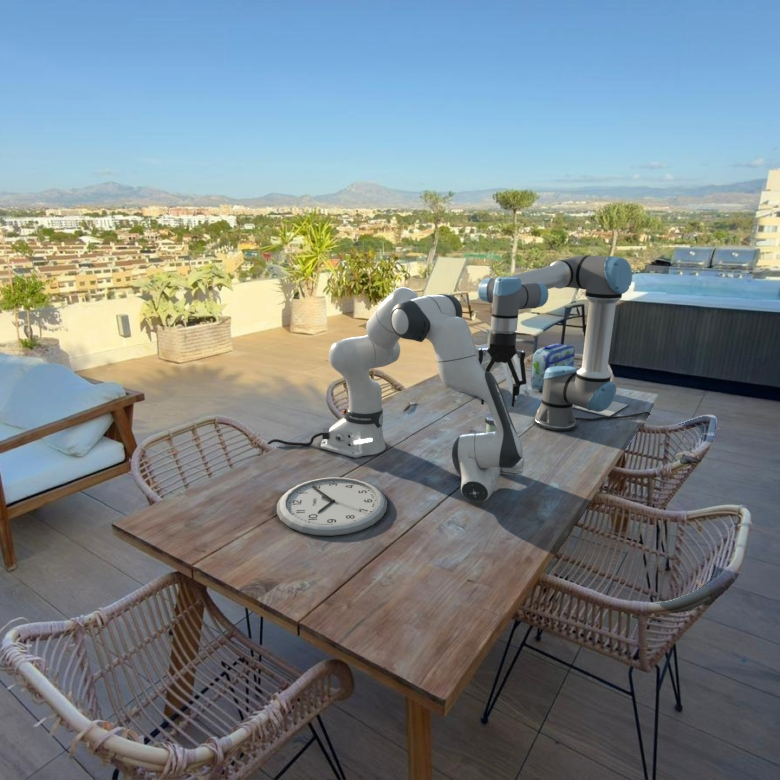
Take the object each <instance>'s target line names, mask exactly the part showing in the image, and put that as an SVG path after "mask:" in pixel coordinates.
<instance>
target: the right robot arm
mask: <svg viewBox="0 0 780 780" xmlns="http://www.w3.org/2000/svg"><path fill="white" fill-rule="evenodd" d="M632 281H633V271H632V267H631V264H630V263H629V261H628V260H627V259H626V258H624V257H618V256H614V255H590V254H580V255H575V256H571V257H567V258H563V259H559V260H556V261H553V262H552V263H551V264H550V265H548V266H543V267H540V268H536V269H532V270H529V271H524V272H520V273H516V274H512V275H508V276H499V277H496V278H494V277H487V278H483V279H482V280H481V282H480V283H479V285H478V288H477V295H478V297H479V300H481V301H483V302H486V303H488V304H492V307H491V308H492V309H491V319H490V320H491V321H490V330H491V331H490V333H489V347H488V348H487V349H482V348H480V349H479V358H478V360H479V362H480V364H482V360H483V356H485V355H486V353H487V352H488V353H489V355H490V356H491V359H490V361H489V363H488V365H487V366H486V368H485V371H487V372H489V371H490V369H491V367H492V366H493V364H494V363H495V362H497V363H499V362H502V363H507V365H508V368H509V371H510V374H511V377H512V379H513V382H514V383H513V390H512V394H511V403H510V404H511V405H510V406H511V408H515V402H516V401H515V400H516V399H515V396H517V397H518V396H519V395H520V390H521V387H522V386H521V385H523V384H527V374H526V373H527V372H526V364H525V358H526V351H525V350H518V349H517V348H516V345H517V344H516V342H517V332H516V331H518V324H519V323H518V321H519V312H520V310H528V309H530V310H531V309H538V308H541V307H543V306H544V305H546V303H547V302H548V300H549V294H550V293H549V290H550V289H554V288H555V289H558V290H559V289H564V288H571V289H579V290H580V289H581V290H585V298H586V299H587V300H588V309H587V318H586V327H585V335H584V344H583V353H582V361H581V367H580V368H579V369H578V368H577V367H576V366H573V367H571V366H555V367H549V368H547V369H546V371H545V375H544V378H543V379H544V381H543V390H541V391H542V394H541V402H540V405H539V407H538V408H537V411H536V413H535V416H534V424H535V425H536V426H537V427H539V428H542V429H544V430H549V431H556V432H567V431H572V430H574V429H575V428H576V420H577V421H578V420H579V421H598V420H602V419H603V420H605V419H625V418H631V417H638V416H641V415H645V414H648V416H651V415H652V414H651V413H650V412H649V411H643V412H639V413H633V414H627V415H617V416H616V415H611V416H599V417H591V418H589V417H588V418H587V417H576V416H575V413H574V407H573V406H575V407H576V406H579V407H582V408H585V409H588V410H592V411H596V412H601V411H604V410H605V409H607V408H608V407H609V405H610V404H611V403H612V401H614V400H615V398H616V397H615V396H616V394H617V386H616V385H617V384H615V383H614V382H613V381H611V379H612V378H611V377H612V374H611V372H610V371H609V370H608V367H609V359H610V353H611V352H610V351H611V343H612V336H613V330H614V323H615V322H614V321H615V315H616V308H617V302H619V301H620V300H621V299H622V298H623V294H626V293H627V292H628V291H629V290H630V286H631V285H632ZM515 354H517V355H518V359H519V362H520V367H521V376H522V380H520V379H519V376H518V373H517V370H516V367H515V364H514V362H513V361H512V360H513V359H512V358H513V356H514V355H515ZM502 363H501V364H502ZM480 399H481V400H480V402H481V403H480V405H484V404H485V401H484V400H483V399H482V398H480Z"/></svg>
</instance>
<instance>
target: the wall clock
mask: <svg viewBox="0 0 780 780" xmlns="http://www.w3.org/2000/svg"><path fill="white" fill-rule="evenodd" d="M387 509H388V500H387V498H386V496H385V494H384V493H383V492H382V491H381V490H380V489H379V488H377V487H376V486H374V485H372V484H371V483H369V482H365V481H362V480H359V479H355V478H349V477H338V476H337V477H335V476H333V477H332V476H331V477H322V478H317V479H312V480H307V481H305V482H302V483H299V484H297V485H295V486H293V487H292V488H290V489H288V490H287V491H286V492H285V493H284V494H283V495H281V496H280V498H279V499H278V502H277V503H276V515H277V517H278V518H279V520H280V521H281V522H282V523H283V524H285V525H286V526H287V527H288V528H290V529H293V530H295V531H297V532H299V533H303V534H308V535H312V536H327V537H328V536H329V537H331V536H332V537H333V536H342V535H350V534H352V533H356V532H361V531H363V530H366V529H368V528H369V527H372V526H373V525H375V524H376V523H378V522H379V521H380V520H381V519H382V518H383V517H384V516H385V514H386V512H387Z"/></svg>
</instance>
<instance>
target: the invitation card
mask: <svg viewBox="0 0 780 780" xmlns="http://www.w3.org/2000/svg"><path fill="white" fill-rule="evenodd" d="M628 406H629V404H627V403H623V402H618V401H614V400H613V401H612V403H611V404H610V405H609V407H608V408H607V409H605V410H604V411H601V412H596V411H592V410H588V409H585V408H582V407H579V406H576V405H575V406H574V407H573V409H575V410H581V411H584V412H587V413H593V414H596V415H600V416H603V417H608V416H614V414H616V413H617V412H619V411H621V410H623V409H624V408H626V407H628Z"/></svg>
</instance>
